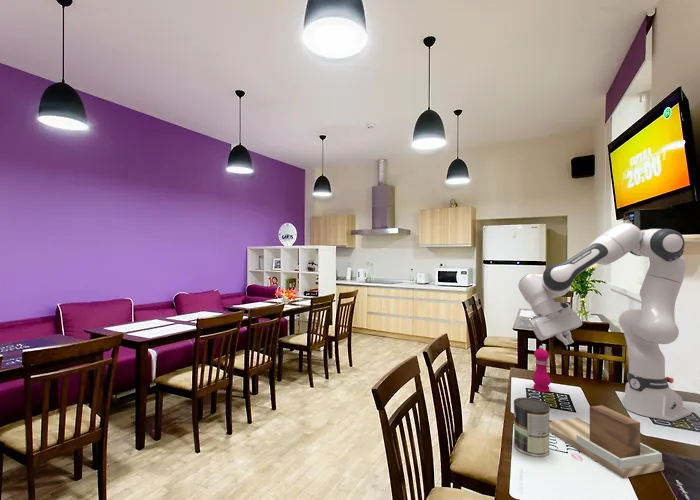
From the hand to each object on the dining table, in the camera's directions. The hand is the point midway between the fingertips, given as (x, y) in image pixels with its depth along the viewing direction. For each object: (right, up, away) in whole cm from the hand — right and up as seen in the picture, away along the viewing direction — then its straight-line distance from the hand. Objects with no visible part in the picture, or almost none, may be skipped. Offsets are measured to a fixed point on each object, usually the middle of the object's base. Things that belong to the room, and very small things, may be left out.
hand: (569, 343), depth 136 cm
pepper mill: (+4, -28, +27) cm, 40 cm away
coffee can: (-25, -28, -21) cm, 43 cm away
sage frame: (-2, -26, -27) cm, 37 cm away
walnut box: (-3, -26, -26) cm, 37 cm away
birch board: (-4, -28, -20) cm, 35 cm away
